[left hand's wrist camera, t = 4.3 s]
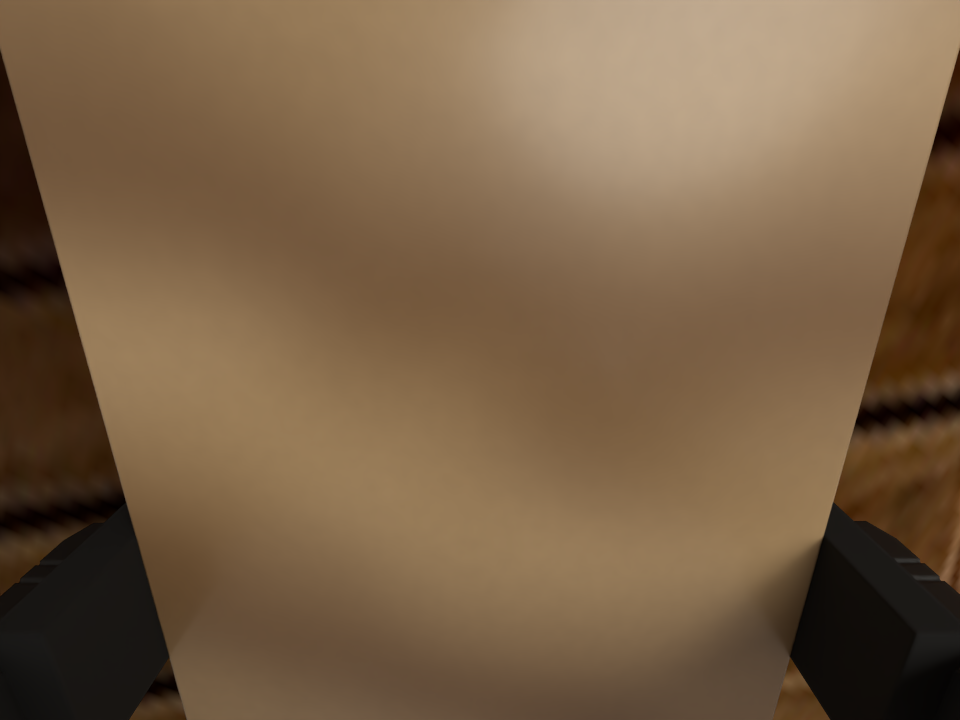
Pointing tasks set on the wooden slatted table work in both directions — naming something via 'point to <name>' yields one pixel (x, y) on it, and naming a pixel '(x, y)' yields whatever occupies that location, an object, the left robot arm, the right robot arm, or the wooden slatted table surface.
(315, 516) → the cabinet
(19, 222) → the wooden slatted table surface
